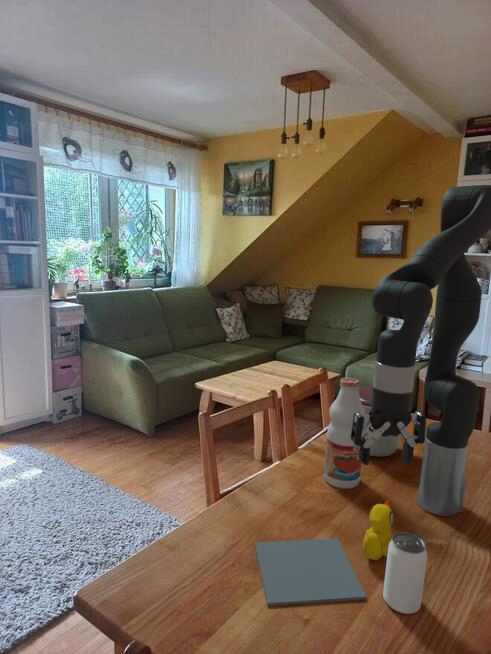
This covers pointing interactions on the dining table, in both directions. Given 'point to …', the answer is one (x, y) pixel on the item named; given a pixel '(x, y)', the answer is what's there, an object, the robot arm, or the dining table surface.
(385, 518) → the duckling
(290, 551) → the mat
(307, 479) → the dining table surface
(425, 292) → the robot arm
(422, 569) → the can
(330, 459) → the fruit juice
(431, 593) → the dining table surface
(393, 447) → the canister
